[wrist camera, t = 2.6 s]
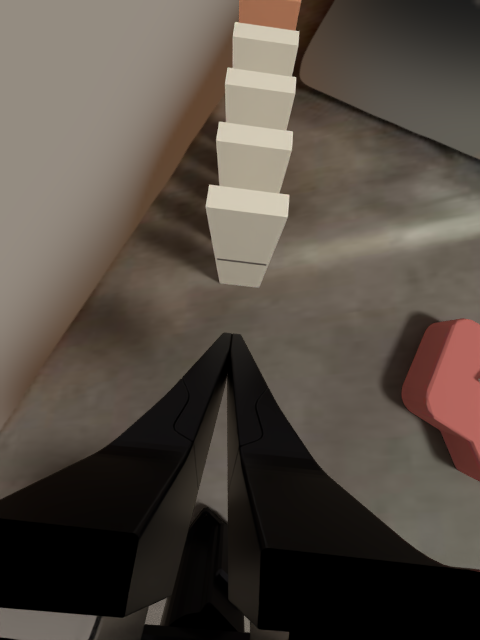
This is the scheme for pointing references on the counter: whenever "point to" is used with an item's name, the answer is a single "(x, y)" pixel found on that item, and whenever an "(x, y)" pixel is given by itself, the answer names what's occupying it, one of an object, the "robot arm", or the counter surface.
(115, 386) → the counter surface
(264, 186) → the domino
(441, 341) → the plaque
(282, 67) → the domino
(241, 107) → the domino
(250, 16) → the domino
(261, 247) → the domino
